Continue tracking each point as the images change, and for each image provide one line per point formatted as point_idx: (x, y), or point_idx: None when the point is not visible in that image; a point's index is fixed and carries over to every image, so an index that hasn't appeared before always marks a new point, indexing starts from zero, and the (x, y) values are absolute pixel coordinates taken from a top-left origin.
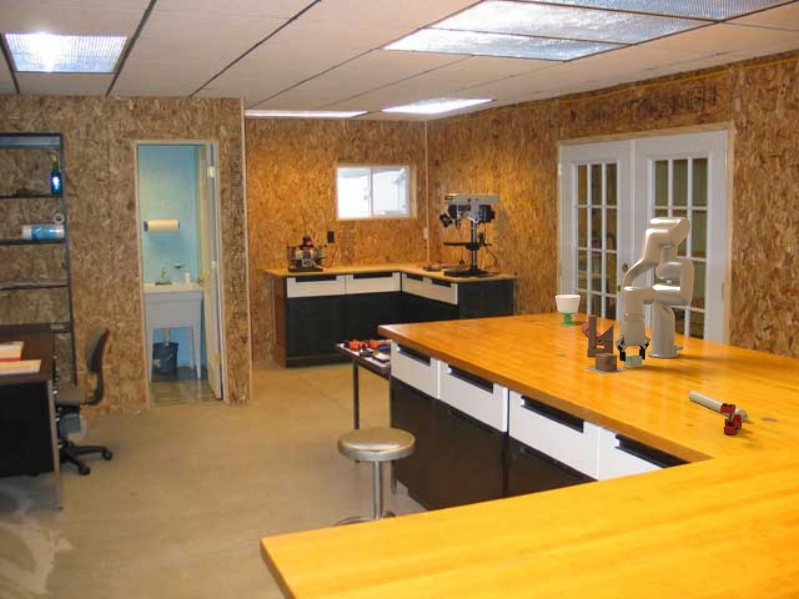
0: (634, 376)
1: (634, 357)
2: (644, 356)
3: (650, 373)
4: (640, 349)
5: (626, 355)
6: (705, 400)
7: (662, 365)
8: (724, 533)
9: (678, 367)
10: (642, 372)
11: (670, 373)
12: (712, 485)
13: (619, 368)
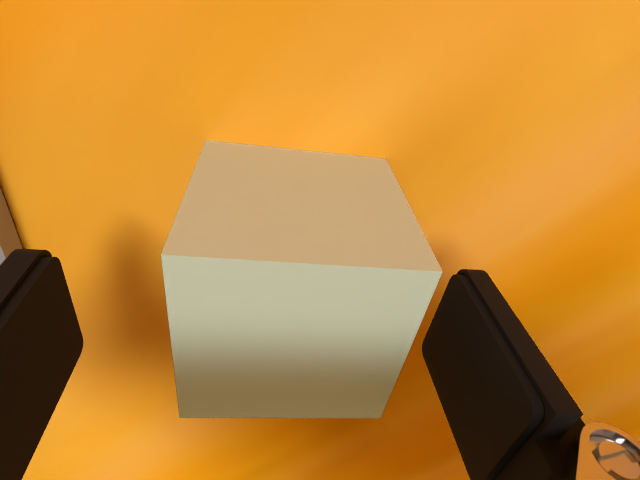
0: (48, 448)
1: (231, 411)
2: (444, 391)
3: (237, 432)
4: (537, 434)
5: (195, 290)
6: None
7: (613, 297)
8: None
9: (590, 391)
10: None
11: (355, 466)
12: None
13: None
